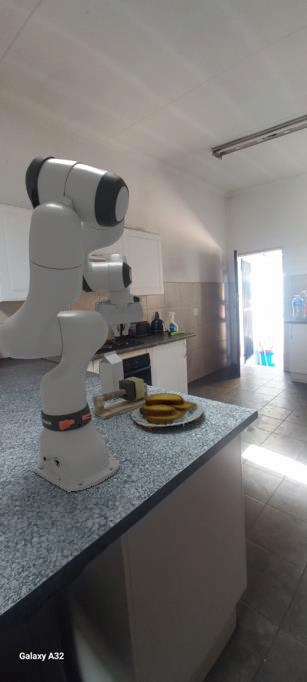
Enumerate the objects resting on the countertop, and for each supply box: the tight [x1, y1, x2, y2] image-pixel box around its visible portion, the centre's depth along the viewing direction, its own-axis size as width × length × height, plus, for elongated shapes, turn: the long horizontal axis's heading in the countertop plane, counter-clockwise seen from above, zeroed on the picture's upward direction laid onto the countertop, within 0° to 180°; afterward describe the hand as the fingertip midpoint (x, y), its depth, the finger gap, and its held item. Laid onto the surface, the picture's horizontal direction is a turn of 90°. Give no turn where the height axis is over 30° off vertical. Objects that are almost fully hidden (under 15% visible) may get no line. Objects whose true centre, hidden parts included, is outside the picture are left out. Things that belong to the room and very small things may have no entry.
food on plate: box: [130, 392, 204, 432], centre depth 101 cm, size 25×25×7 cm
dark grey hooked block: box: [119, 379, 135, 402], centre depth 113 cm, size 6×2×7 cm, turn 41°
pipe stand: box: [91, 382, 149, 420], centre depth 111 cm, size 9×22×7 cm, turn 131°
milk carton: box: [98, 350, 125, 400], centre depth 125 cm, size 7×7×19 cm
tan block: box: [125, 376, 145, 399], centre depth 115 cm, size 6×4×7 cm, turn 41°
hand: (121, 335), depth 113 cm, fingers open, 2 cm apart
